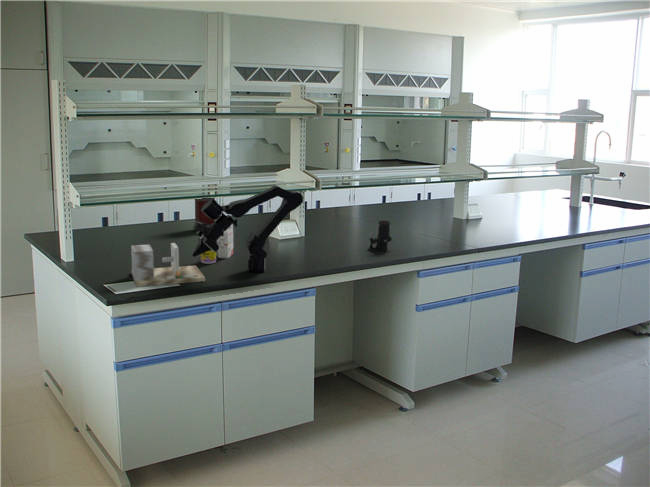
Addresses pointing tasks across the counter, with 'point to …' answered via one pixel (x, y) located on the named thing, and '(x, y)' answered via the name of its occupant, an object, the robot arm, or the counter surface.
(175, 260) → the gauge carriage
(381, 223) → the scope
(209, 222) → the toy vending machine
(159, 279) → the gauge frame
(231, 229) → the ink cartridge box
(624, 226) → the counter surface
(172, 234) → the counter surface
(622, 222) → the counter surface
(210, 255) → the supplement bottle
